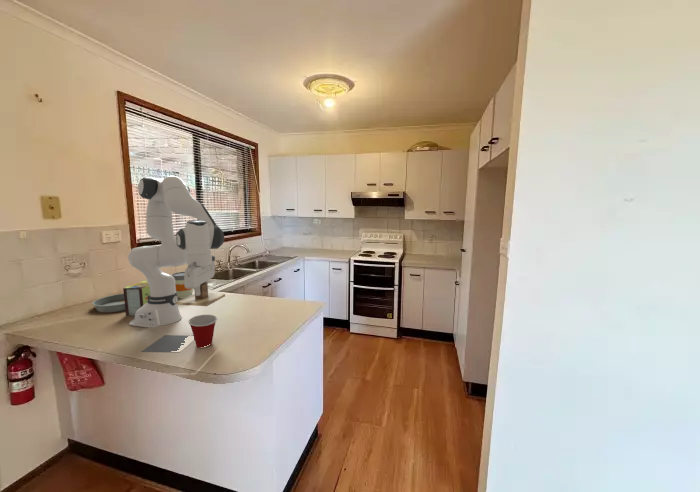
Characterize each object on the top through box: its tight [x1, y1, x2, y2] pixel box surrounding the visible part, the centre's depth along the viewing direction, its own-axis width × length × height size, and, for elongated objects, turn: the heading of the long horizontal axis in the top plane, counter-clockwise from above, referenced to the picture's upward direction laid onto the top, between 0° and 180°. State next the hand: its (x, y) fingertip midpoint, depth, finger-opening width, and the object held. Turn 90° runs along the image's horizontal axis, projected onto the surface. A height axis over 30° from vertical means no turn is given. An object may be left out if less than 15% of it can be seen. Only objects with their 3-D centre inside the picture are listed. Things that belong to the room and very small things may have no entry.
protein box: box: [122, 280, 150, 317], centre depth 160 cm, size 10×15×16 cm
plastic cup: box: [187, 314, 218, 348], centre depth 121 cm, size 11×11×12 cm
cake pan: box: [91, 292, 126, 313], centre depth 169 cm, size 25×25×4 cm
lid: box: [176, 282, 226, 307], centre depth 119 cm, size 13×13×7 cm
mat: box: [140, 334, 189, 353], centre depth 123 cm, size 16×15×1 cm
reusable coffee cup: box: [171, 271, 194, 299], centre depth 186 cm, size 13×13×15 cm
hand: (201, 293), depth 119 cm, fingers closed on lid, 4 cm apart
